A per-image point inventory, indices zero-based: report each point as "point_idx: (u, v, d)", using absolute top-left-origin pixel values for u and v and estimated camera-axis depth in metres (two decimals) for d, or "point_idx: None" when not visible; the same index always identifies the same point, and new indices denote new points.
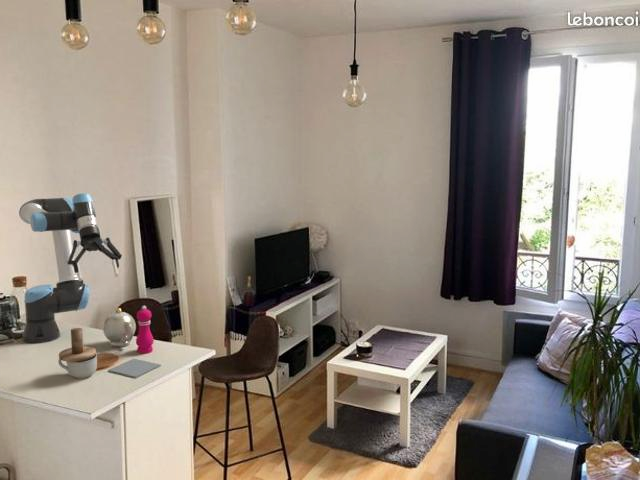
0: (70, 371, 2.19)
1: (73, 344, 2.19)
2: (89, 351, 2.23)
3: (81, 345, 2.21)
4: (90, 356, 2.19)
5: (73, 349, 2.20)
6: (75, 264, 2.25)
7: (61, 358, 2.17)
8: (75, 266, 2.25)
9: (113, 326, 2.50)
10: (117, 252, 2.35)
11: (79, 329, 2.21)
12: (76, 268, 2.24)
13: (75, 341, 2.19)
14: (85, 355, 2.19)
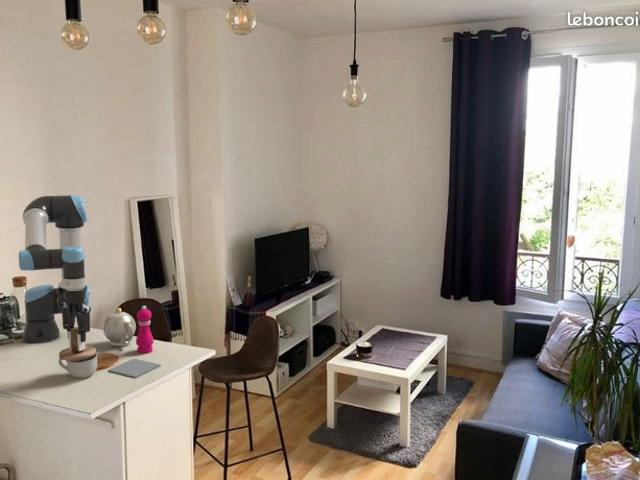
0: (70, 371, 2.19)
1: (73, 343, 2.20)
2: (89, 351, 2.23)
3: None
4: (90, 355, 2.19)
5: (73, 348, 2.20)
6: (68, 332, 2.21)
7: (61, 357, 2.17)
8: (68, 334, 2.22)
9: (113, 326, 2.50)
10: (83, 327, 2.17)
11: None
12: None
13: (75, 340, 2.19)
14: (85, 354, 2.19)
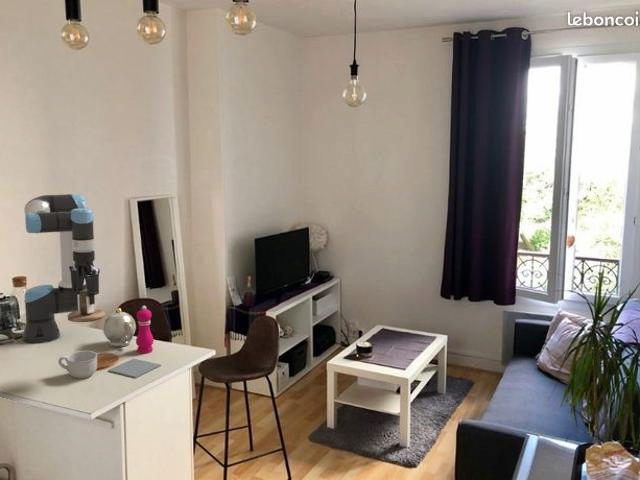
0: (70, 371, 2.19)
1: (82, 305, 2.18)
2: (98, 313, 2.21)
3: None
4: (98, 317, 2.18)
5: (82, 310, 2.19)
6: (77, 294, 2.20)
7: (70, 319, 2.16)
8: (77, 296, 2.21)
9: (113, 326, 2.50)
10: (92, 289, 2.16)
11: None
12: (78, 299, 2.21)
13: (83, 302, 2.18)
14: (94, 316, 2.18)
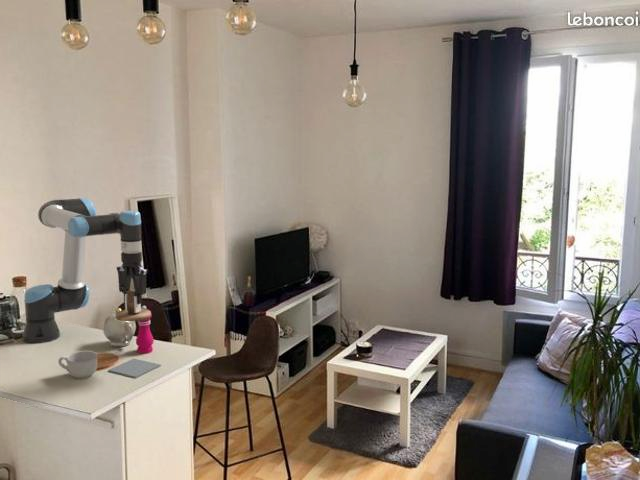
0: (70, 371, 2.19)
1: (129, 305, 2.25)
2: (144, 313, 2.28)
3: None
4: (146, 316, 2.25)
5: (129, 310, 2.25)
6: (124, 294, 2.27)
7: (118, 318, 2.22)
8: (124, 296, 2.27)
9: (113, 326, 2.50)
10: (140, 289, 2.22)
11: None
12: None
13: (131, 302, 2.24)
14: (141, 315, 2.24)
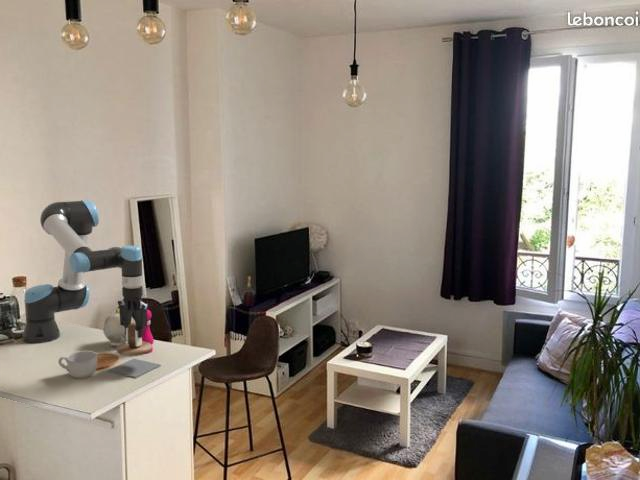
0: (70, 371, 2.19)
1: (130, 338, 2.27)
2: (145, 346, 2.30)
3: None
4: (147, 350, 2.27)
5: (130, 343, 2.27)
6: (125, 328, 2.29)
7: (119, 352, 2.24)
8: (125, 330, 2.29)
9: (113, 326, 2.50)
10: (141, 323, 2.25)
11: None
12: None
13: (132, 336, 2.27)
14: (142, 349, 2.26)
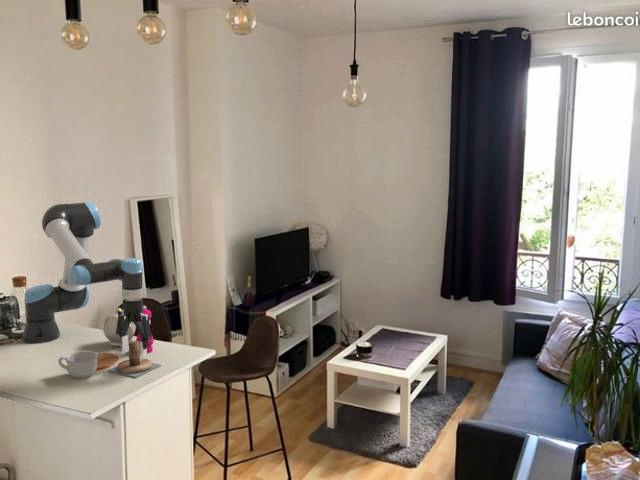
0: (70, 371, 2.19)
1: (131, 356, 2.28)
2: (146, 363, 2.31)
3: (138, 357, 2.30)
4: (147, 368, 2.28)
5: (131, 361, 2.29)
6: None
7: (120, 370, 2.26)
8: (121, 339, 2.31)
9: (113, 326, 2.50)
10: (145, 334, 2.24)
11: (136, 342, 2.29)
12: (121, 341, 2.31)
13: (133, 353, 2.28)
14: (142, 367, 2.28)
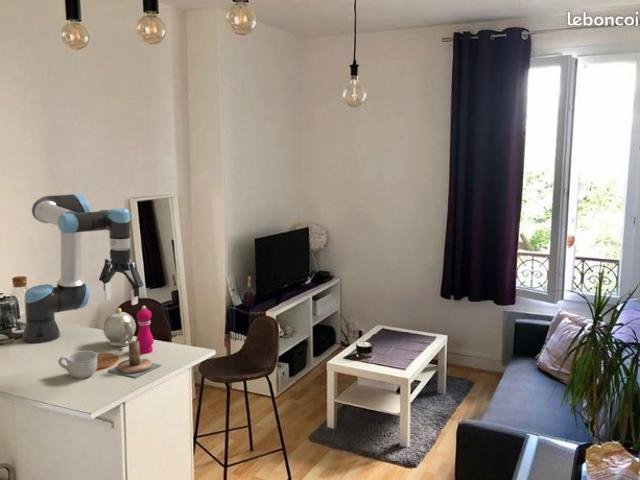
0: (70, 371, 2.19)
1: (131, 356, 2.28)
2: (145, 363, 2.31)
3: (138, 357, 2.30)
4: (147, 368, 2.28)
5: (131, 361, 2.29)
6: (104, 283, 2.32)
7: (120, 370, 2.26)
8: (104, 285, 2.32)
9: (113, 326, 2.50)
10: (135, 282, 2.24)
11: (136, 342, 2.29)
12: (104, 287, 2.32)
13: (132, 353, 2.28)
14: (142, 367, 2.28)
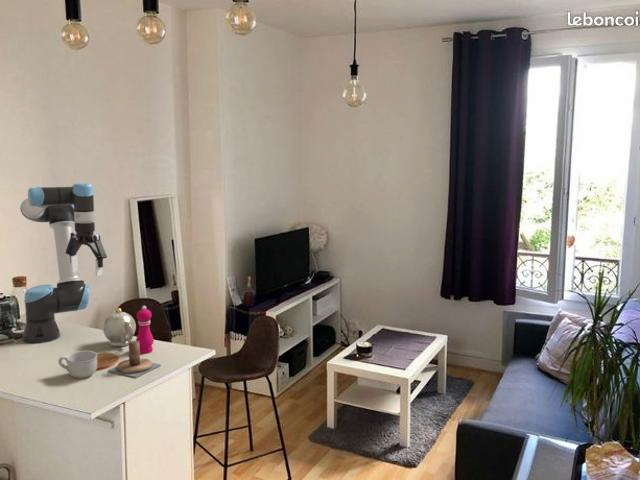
0: (70, 371, 2.19)
1: (131, 356, 2.28)
2: (146, 363, 2.31)
3: (138, 357, 2.30)
4: (147, 368, 2.28)
5: (131, 361, 2.29)
6: (70, 256, 2.41)
7: (120, 370, 2.26)
8: (70, 258, 2.41)
9: (113, 326, 2.50)
10: (99, 253, 2.33)
11: (136, 342, 2.29)
12: None
13: (133, 353, 2.28)
14: (142, 367, 2.28)
